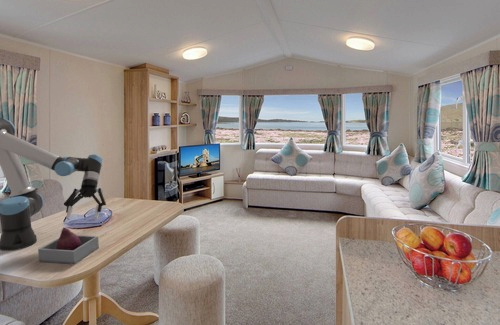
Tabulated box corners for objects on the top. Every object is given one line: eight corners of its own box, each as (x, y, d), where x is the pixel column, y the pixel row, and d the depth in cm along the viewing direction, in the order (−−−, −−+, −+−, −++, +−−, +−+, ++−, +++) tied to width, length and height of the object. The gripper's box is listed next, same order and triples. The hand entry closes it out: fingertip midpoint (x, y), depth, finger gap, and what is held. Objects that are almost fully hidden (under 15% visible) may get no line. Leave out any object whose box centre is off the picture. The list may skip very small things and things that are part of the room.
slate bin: (39, 262, 129) (38, 249, 128) (67, 245, 146) (66, 234, 145) (74, 264, 127) (73, 251, 126) (98, 247, 144) (98, 236, 143)
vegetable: (71, 264, 131) (66, 237, 125) (52, 259, 133) (45, 232, 127) (88, 249, 141) (84, 224, 135) (69, 245, 142) (64, 219, 136)
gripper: (116, 183, 163) (109, 219, 153) (69, 184, 161) (59, 221, 150) (111, 177, 157) (104, 215, 147) (62, 178, 154) (52, 216, 144)
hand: (81, 218), depth 148 cm, fingers open, 13 cm apart
